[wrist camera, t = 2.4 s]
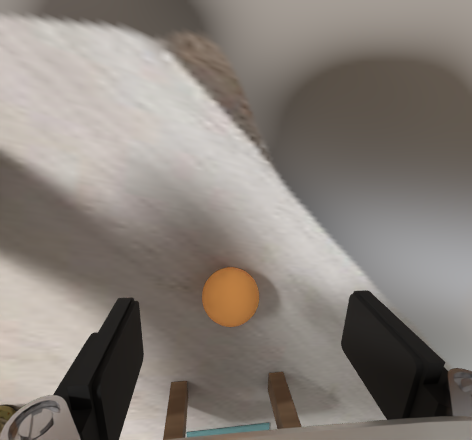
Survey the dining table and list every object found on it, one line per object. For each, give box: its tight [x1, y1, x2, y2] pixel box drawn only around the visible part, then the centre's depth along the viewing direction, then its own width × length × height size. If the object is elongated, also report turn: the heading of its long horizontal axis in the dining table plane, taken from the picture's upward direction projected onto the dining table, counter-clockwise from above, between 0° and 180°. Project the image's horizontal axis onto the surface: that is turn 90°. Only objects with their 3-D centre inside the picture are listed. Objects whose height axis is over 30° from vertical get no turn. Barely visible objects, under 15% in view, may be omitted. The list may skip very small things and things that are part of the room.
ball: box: [202, 267, 259, 327], centre depth 27 cm, size 6×6×6 cm
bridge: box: [163, 372, 301, 440], centre depth 30 cm, size 3×15×10 cm, turn 90°
